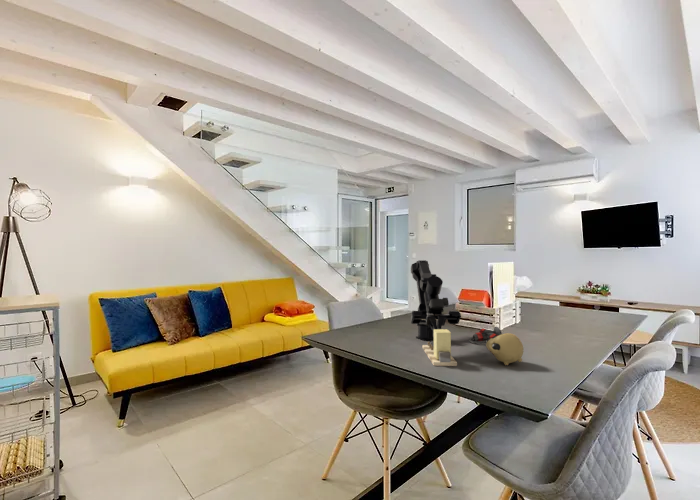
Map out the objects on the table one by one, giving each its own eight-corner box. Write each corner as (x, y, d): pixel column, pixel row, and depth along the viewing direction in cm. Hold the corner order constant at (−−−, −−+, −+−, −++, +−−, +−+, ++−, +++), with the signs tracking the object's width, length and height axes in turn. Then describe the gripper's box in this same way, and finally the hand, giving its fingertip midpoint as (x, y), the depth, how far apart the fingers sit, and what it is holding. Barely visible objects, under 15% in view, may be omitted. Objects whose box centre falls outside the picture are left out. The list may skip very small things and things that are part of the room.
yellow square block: (433, 355, 125) (433, 329, 126) (447, 355, 125) (447, 329, 125) (436, 359, 120) (436, 332, 121) (450, 359, 120) (450, 332, 120)
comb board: (422, 347, 140) (422, 337, 140) (442, 347, 140) (441, 337, 140) (433, 365, 118) (433, 353, 118) (456, 365, 118) (456, 353, 118)
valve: (462, 341, 158) (493, 336, 158) (486, 362, 132) (524, 356, 133) (460, 328, 158) (491, 322, 158) (484, 346, 132) (522, 340, 132)
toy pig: (482, 358, 126) (482, 329, 126) (515, 358, 126) (515, 329, 126) (493, 367, 116) (493, 336, 116) (528, 367, 116) (528, 336, 116)
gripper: (411, 290, 134) (416, 324, 123) (459, 290, 133) (468, 325, 122) (408, 306, 142) (412, 340, 131) (454, 306, 141) (462, 340, 130)
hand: (438, 336), depth 128 cm, fingers closed
